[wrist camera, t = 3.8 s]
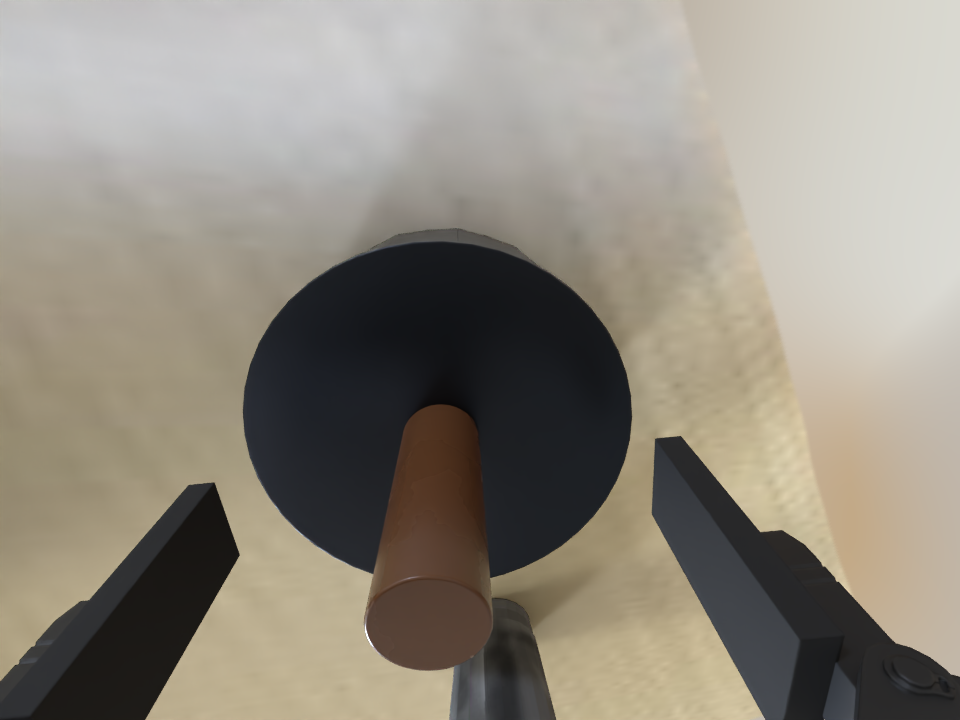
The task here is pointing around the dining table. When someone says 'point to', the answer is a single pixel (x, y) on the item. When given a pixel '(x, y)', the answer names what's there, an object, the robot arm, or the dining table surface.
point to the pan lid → (436, 430)
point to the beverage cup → (503, 673)
